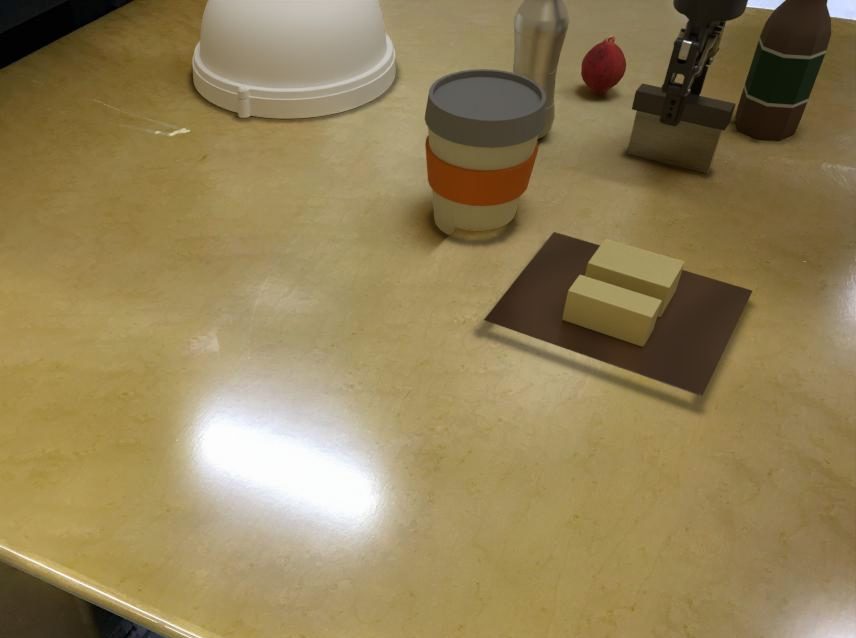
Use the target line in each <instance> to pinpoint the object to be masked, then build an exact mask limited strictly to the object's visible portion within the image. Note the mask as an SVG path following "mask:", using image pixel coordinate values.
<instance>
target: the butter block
mask: <svg viewBox="0 0 856 638" xmlns="http://www.w3.org/2000/svg"><path fill="white" fill-rule="evenodd" d="M599 245H600V247H599V248H598V249H597V251H596V252H595V254H594V255H593V256H592V258H591V259H590V261H589V262H588V265H587V269H586V274H585V276H586V277H589V278H592V279H596V280H599V281H602V282H605V283H608V284H612V285H615V286H618V287H621V288H624V289H628V290H631V291H634V292H637V293H640V294H644V295H647V296H650V297H653V298H656V299H660V300H662V303H661V306H660V309H659V312H658V317H661V316H662V314H663V312H664V310H665V309H666V307H667V305H668V304H669V302H670V300H671V298H672V297H673V295H674V293H675V291H676V289H677V286H678V282H679V279H680V276H681V273H682V270H684V266H685V262H686V261H685V260H682V259H678V258H675V257H672V256H668V255H665V254H661V253H658V252H654V251H650V250H647V249H645V248H644V249H643V248H640V247H637V246H633V245H630V244H627V243H624V242H619V241H617V240H613V239H610V238H604V239H603V241H602V243H601V244H599Z"/></svg>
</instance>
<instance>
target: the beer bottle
mask: <svg viewBox="0 0 856 638" xmlns="http://www.w3.org/2000/svg"><path fill="white" fill-rule="evenodd" d="M831 36H832V18H831V15H830V11H829V8H828V0H784V1H783V2H782V3H780V4H779V5H778V7H776V8H775V9H774V10H773V11H772V12H771V14H770V16H769V17H768V18H767V19H766V21H765V23H764V25H763V28H762V31H761V33H760V35H759V38H758V42H757V44H756V48H755V51H754V53H753V57H752V60H751V63H750V66H749V70H748V73H747V75H746V80H745V82H744V85H743V89H742V92H741V94H740V95H741V96H740V98H739V101H738V105H737V109H736V112H735V117H734V118H735V123H736V127H737V131H739V132H741V133H743V134H745V135H747V136H749V137H751V138H754V139H756V140H771V141H781V140H783V139H785V138H787V137H790V136H792V135H794V134H795V133H796V132H797V129H798V127H799V125H800V123H801V120H802V117H803V115H804V113H805V109H806V107H807V105H808V101H809V99H810V96H811V93H812V91H813V88H814V86H815V82H816V81H817V77H818V75H819V72H820V70H821V67H822V64H823V61H824V59H825V56H826V53H827V50H828V46H829V43H830V41H831V40H830V39H831Z"/></svg>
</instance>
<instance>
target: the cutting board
mask: <svg viewBox="0 0 856 638" xmlns="http://www.w3.org/2000/svg"><path fill="white" fill-rule="evenodd" d="M600 245H601V244H597V243H593V242H590V241H587V240H583V239H581V238H577V237H573V236H570V235H566V234H563V233H560V232H555V231H553V233H551V234H550V235H549V237H548V238H547V240H546V241H545V242H544V243H543V244H542V246H541V247H540V249H538V251H537V252H536V254H535V255H534V256H533V257H532V259H531V260H530V261H529V262H528V264H526V266H525V267H524V269H523V270H522V271H521V273H519V275H518V276H517V277H516V278H515V280H514V281H513V282H512V284H511V285H510V286H509V287H508V289H507V290H506V291H505V293H503V295H502V296H501V298H500V299H499V300H498V301H497V302H496V304H495V305H494V306H493V308H492V309H491V310H490V312H489V313H488V314H487V315H486V316H485V318H484V319H483V321H485V322H488V323H491V324H494V325H496V326H498V327H499V326H500V327H502V328H505V329H508V330H511V331H514V332H517V333H519V334H523V335H525V336H528V337H531V338H534V339H537V340H539V341H543V342H544V343H547V344H551V345H553V346H556V347H559V348H562V349H565V350H568V351H571V352H573V353H577V354H579V355H582V356H585V357H587V358H590V359H594V360H597V361H599V362H602V363H606V364H608V365H611V366H614V367H617V368H620V369H623V370H625V371H628V372H631V373H634V374H637V375H640V376H641V377H642V376H643V377H645V378H649V379H651V380H654V381H657V382H660V383H662V384H665V385H668V386H671V387H674V388H677V389H679V390H682V391H685V392H688V393H691V394H694V395H696V396H700V397H703V396H704V394H705V391H706V389H707V388H708V385H709V383H710V381H711V379H712V377H713V375H714V372H715V371H716V368H717V366H718V364H719V362H720V360H721V358H722V356H723V354H724V352H725V350H726V348H727V346H728V343H729V342H730V339H731V337H732V335H733V334H734V331H735V329H736V326H737V325H738V323H739V320H740V319H741V317H742V314H743V312H744V310H745V309H746V306H747V304H748V302H749V299H750V297H751V295H752V293H753V290H752V289H750V288H746V287H742V286H739V285H735V284H732V283H729V282H725V281H722V280H718V279H716V278H711V277H708V276H705V275H701V274H698V273H695V272H691V271H689V270H688V271H687V270H685V269H683V270H682V273H681V276H680V279H679V282H678V286H677V289H676V291H675V293H674V295H673V297H672V298H671V300H670V302H669V304H668V305H667V307H666V309H665V310H664V312H663V314H662V316H661V317H658V316H657V319H656V322H655V326H654V329H653V331H652V333H651V335H650V336H649V338H648V340H647V342H646V343H645V345H644V346H643V347H641V346H638V345H635V344H632V343H629V342H627V341H624V340H621V339H618V338H615V337H612V336H609V335H606V334H603V333H600V332H597V331H594V330H591V329H588V328H585V327H582V326H579V325H576V324H573V323H570V322H567V321H564V320H562V318H563V313H564V308H565V303H566V299H567V294H568V290H569V289H570V287H571V286H572V284H573V283H574V282H575V280H576V279H577V277H578V276H579V275H583V276H585V274H586V269H587V265H588V262H589V261H590V259H591V258H592V256H593V255H594V254H595V252H596V251H597V249H598V248H599V247H600Z"/></svg>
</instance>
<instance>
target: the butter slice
mask: <svg viewBox="0 0 856 638" xmlns="http://www.w3.org/2000/svg"><path fill="white" fill-rule="evenodd" d="M661 303H662V300H660V299H656V298H653V297H650V296H647V295H644V294H640V293H637V292H634V291H631V290H628V289H624V288H621V287H618V286H615V285H612V284H608V283H605V282H602V281H599V280H596V279H592V278H589V277H586V276H583V275H579V276H578V277H577V279H576V280H575V282H574V283H573V284H572V286H571V287H570V289H569V290H568V294H567V299H566V303H565V308H564V313H563V318H562V320H564V321H567V322H570V323H573V324H576V325H579V326H582V327H585V328H588V329H591V330H594V331H597V332H600V333H603V334H606V335H609V336H612V337H615V338H618V339H621V340H624V341H627V342H629V343H632V344H635V345H638V346H641V347H643V346H644V345H645V343H646V342H647V340H648V338H649V336H650V335H651V333H652V331H653V329H654V326H655V322H656V319H657V316H658V312H659V309H660V306H661Z"/></svg>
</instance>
